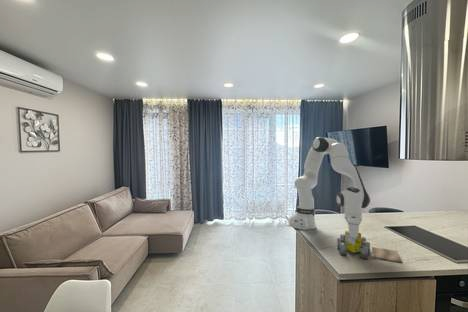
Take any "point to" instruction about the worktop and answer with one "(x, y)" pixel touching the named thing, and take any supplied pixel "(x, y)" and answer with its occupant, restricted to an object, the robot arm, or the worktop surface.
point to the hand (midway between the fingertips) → (353, 240)
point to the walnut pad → (386, 255)
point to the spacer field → (363, 248)
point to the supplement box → (353, 247)
